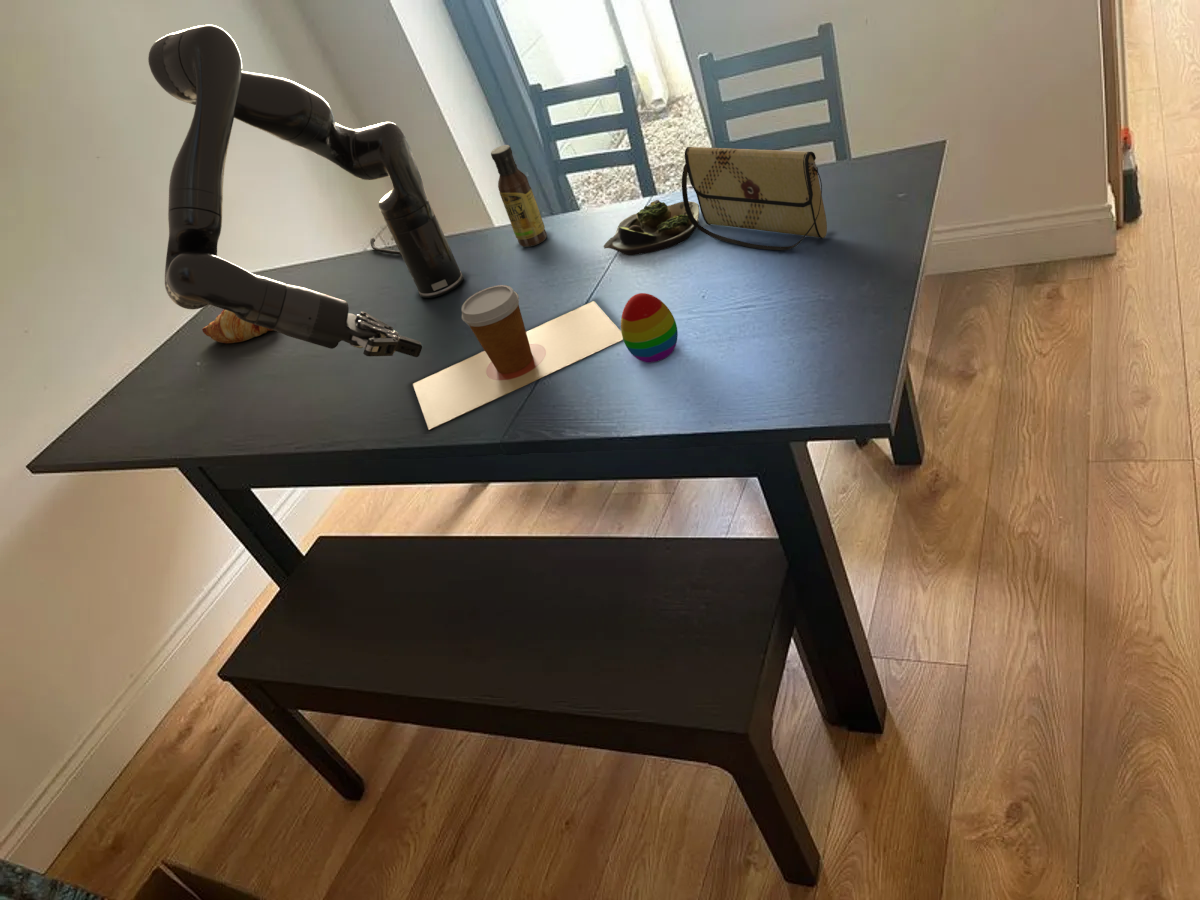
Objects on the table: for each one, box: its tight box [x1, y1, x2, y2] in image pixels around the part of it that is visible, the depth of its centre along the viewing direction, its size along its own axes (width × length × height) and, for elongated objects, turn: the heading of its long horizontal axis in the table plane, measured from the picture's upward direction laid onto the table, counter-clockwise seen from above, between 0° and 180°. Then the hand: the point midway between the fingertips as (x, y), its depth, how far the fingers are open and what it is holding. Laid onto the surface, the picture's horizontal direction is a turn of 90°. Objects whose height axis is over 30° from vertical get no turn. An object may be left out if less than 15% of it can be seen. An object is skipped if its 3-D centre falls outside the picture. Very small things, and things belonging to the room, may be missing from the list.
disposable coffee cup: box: [461, 284, 533, 374], centre depth 150 cm, size 10×10×12 cm
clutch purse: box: [681, 146, 828, 251], centre depth 158 cm, size 30×7×15 cm, turn 43°
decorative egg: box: [620, 292, 679, 364], centre depth 139 cm, size 8×8×10 cm
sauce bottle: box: [490, 144, 548, 248], centre depth 187 cm, size 6×6×20 cm
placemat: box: [412, 300, 624, 431], centre depth 154 cm, size 17×34×1 cm, turn 109°
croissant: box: [201, 309, 274, 344], centre depth 201 cm, size 21×10×8 cm, turn 74°
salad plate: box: [603, 199, 700, 256], centre depth 177 cm, size 19×18×5 cm
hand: (419, 349), depth 148 cm, fingers closed
